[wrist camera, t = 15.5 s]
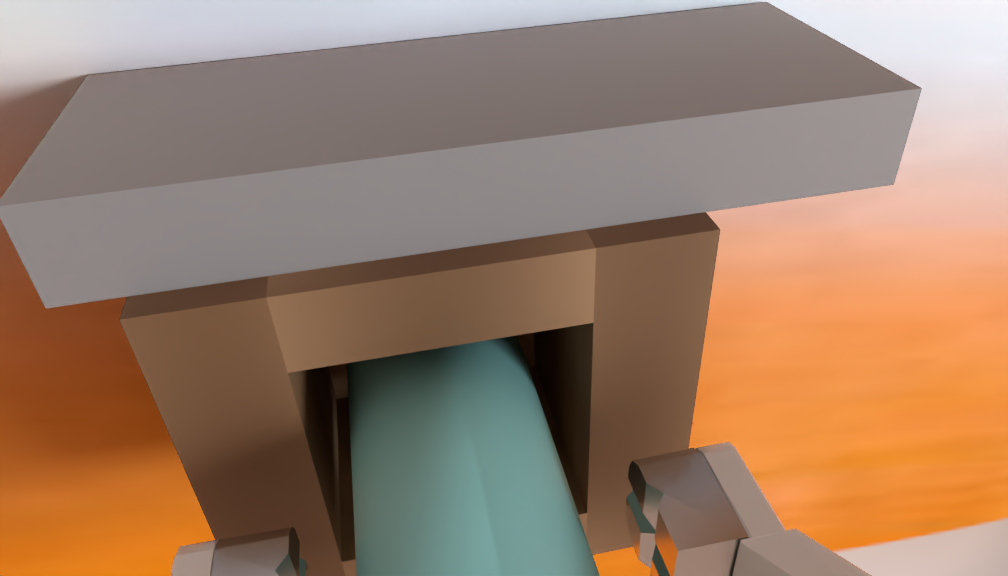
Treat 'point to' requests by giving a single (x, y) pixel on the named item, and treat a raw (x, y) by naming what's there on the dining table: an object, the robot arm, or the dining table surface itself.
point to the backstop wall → (442, 147)
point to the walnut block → (417, 327)
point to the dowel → (458, 468)
